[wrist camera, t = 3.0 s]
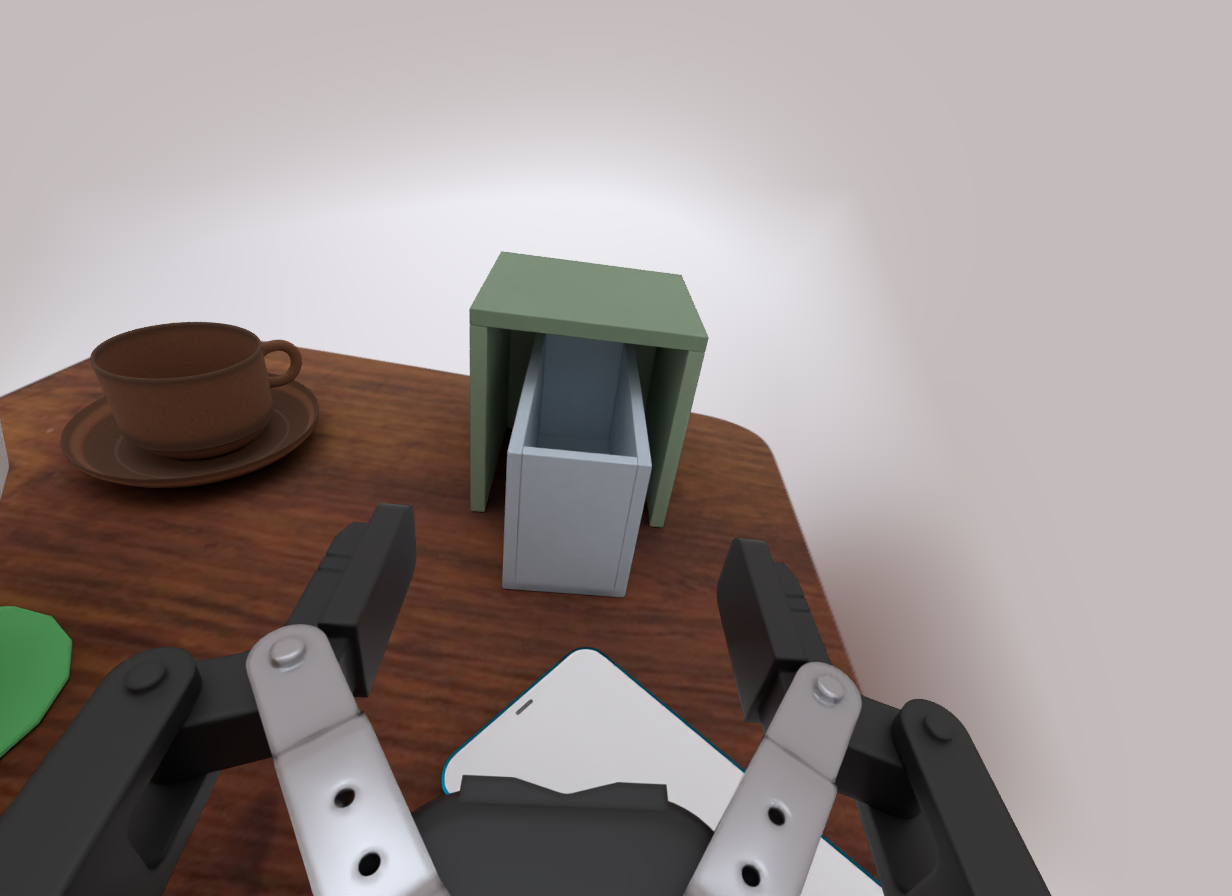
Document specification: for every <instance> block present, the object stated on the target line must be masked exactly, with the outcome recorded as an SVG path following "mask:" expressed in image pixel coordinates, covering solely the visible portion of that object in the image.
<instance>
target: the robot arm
mask: <svg viewBox="0 0 1232 896" xmlns="http://www.w3.org/2000/svg"><path fill="white" fill-rule="evenodd" d="M415 562H416V539H415V522H414V509H413V507H412V506H408V505H398V504H387V503H379V504H378V506H377V507H376V509H375V511H374V513H373V515H372V517H371V519H370V521H369V523H358V522H353V523H352V524H350V525H349V526H348V527H347V528H345V529H344V530H343V531H342V532H340V533H339V534H338V535H337V536H335V538H334V540H333V542H332V543H331V545H330V547H329V549H328V550H327V552H326V556H325V557H323V559H322V561H321V563H320V564H319V566H318V570H317V571H315V573H314V575H313V577H312V578H311V580H310V582H309V584H308V585H307V587H306V589H305V591H304V592H303V594H302V596H301V598H300V599H299V601H298V603H297V605H296V606H295V608H294V610H293V612H292V613H291V615H290V617H289V619H288V620H287V622H286V624H285V625H284V627H282V628H279V629H277V630H275V631H273V632H271V633H269V634H267V635H266V636H264V637H263V638H262V639H260V640H259V641H258V642H257V643H256V644H255V645H254V647H253V648H252V649H251V650H249V651H246V652H243V653H239V654H234V655H229V656H224V657H219V658H214V659H208V660H203V661H198V662H195V660H194V658H193V657H192V655H191V654H190V653H189V652H188V651H186V650H184V649H181V648H177V647H160V648H154V649H150V650H147V651H144V652H141V653H138V654H136V655H134V656H132V657H130V658H128V659H127V660H125V661H123V662H122V663H120V664H119V665H118V666H116V667H115V668H114V669H113V670H112V671H111V672H110V673H108V675H107V676H106V677H105V678H104V679H103V681H102V682H101V683H100V685H99V686H98V687H97V689H96V690H95V691H94V693H93V694H92V695H91V697H90V698H89V699H88V701H87V702H86V703H85V705H84V706H83V707H82V709H81V710H80V712H79V713H78V714H77V716H76V717H75V718H74V720H73V721H72V722H71V724H70V725H69V726H68V728H67V729H66V730H65V732H64V733H63V734H62V736H61V737H60V738H59V740H58V741H57V742H56V744H55V745H54V746H53V748H52V749H51V750H50V752H49V753H48V755H47V756H46V757H45V759H44V760H43V761H42V763H41V764H40V765H39V767H38V768H37V769H36V771H35V772H34V773H33V775H32V776H31V777H30V779H29V780H28V781H27V783H26V784H25V785H24V787H23V788H22V789H21V791H20V792H19V793H18V795H17V796H16V798H15V799H14V800H13V802H12V803H11V804H10V806H9V807H8V808H7V810H6V811H5V812H4V814H3V815H2V816H1V818H0V896H161V895H162V893H163V891H164V889H165V887H166V885H167V883H168V881H169V879H170V877H171V875H172V872H173V870H174V868H175V866H176V864H177V862H178V860H179V858H180V856H181V854H182V852H183V849H184V847H185V845H186V843H187V841H188V839H189V837H190V835H191V833H192V831H193V829H194V827H195V824H196V822H197V820H198V818H199V816H200V814H201V812H202V810H203V808H204V806H205V804H206V801H207V799H208V797H209V795H210V793H211V791H212V789H213V787H214V785H215V783H216V781H217V778H218V776H219V774H220V772H221V770H223V769H227V768H231V767H235V766H239V765H243V764H247V763H251V762H255V761H258V760H262V759H266V758H270V757H272V758H273V762H274V766H275V769H276V772H277V776H278V779H279V782H280V786H281V789H282V792H283V796H284V799H285V802H286V806H287V809H288V812H289V816H290V819H291V822H292V825H293V829H294V832H295V835H296V839H297V842H298V845H299V849H300V852H301V855H302V859H303V862H304V865H305V869H306V872H307V875H308V878H309V882H310V885H311V888H312V892H313V895H314V896H801V893H802V890H803V887H804V884H805V881H806V878H807V876H808V873H809V870H810V867H811V864H812V861H813V859H814V856H815V853H816V850H817V847H818V844H819V842H820V839H821V836H822V833H823V830H824V827H825V825H826V822H827V819H828V816H829V813H830V810H831V808H832V805H833V802H834V799H835V796H836V793H837V792H838V793H841V794H843V795H846V796H848V797H851V798H853V799H855V802H856V805H857V809H858V812H859V815H860V818H861V822H862V825H863V828H864V832H865V835H866V838H867V841H868V845H869V848H870V851H871V855H872V858H873V861H874V864H875V868H876V871H877V874H878V878H879V881H880V884H881V887H882V891H883V894H884V896H1051V894H1050V892H1049V890H1048V888H1047V886H1046V884H1045V882H1044V880H1043V878H1042V876H1041V874H1040V872H1039V871H1038V868H1037V867H1036V865H1035V863H1034V861H1033V859H1032V857H1031V855H1030V853H1029V851H1028V849H1027V847H1026V845H1025V843H1024V841H1023V839H1022V837H1021V836H1020V833H1019V831H1018V829H1017V827H1016V826H1015V823H1014V822H1013V820H1012V818H1011V816H1010V814H1009V812H1008V810H1007V808H1006V806H1005V804H1004V802H1003V800H1002V798H1001V796H1000V794H999V792H998V790H997V788H996V786H995V784H994V782H993V781H992V778H991V777H990V775H989V773H988V771H987V769H986V767H985V765H984V763H983V761H982V759H981V757H980V755H979V753H978V751H977V749H976V747H975V745H974V743H973V741H972V739H971V737H970V735H969V734H968V732H967V730H966V729H965V727H964V726H963V724H962V723H961V722H960V721H959V720H958V719H957V718H956V717H955V716H954V715H953V714H952V713H951V712H949V711H948V710H947V709H945V708H944V707H942V706H940V705H938V704H936V703H934V702H931V701H928V700H924V699H914V700H910V701H908V702H907V703H906V704H905V705H904V706H903V708H902V709H901V710H900V709H897V708H894V707H892V706H889V705H886V704H883V703H881V702H878V701H875V700H873V699H870V698H868V697H865V696H863V695H861V694H859V691H858V689H857V687H856V686H855V684H854V683H853V682H852V680H851V679H850V678H849V677H848V676H847V675H845V674H844V673H843V672H842V671H840V670H839V669H837V668H835V667H833V666H832V664H831V662H830V659H829V657H828V654H827V652H826V649H825V647H824V644H823V642H822V639H821V637H820V634H819V632H818V629H817V627H816V624H815V622H814V619H813V617H812V614H811V613H809V610H810V609H809V607H808V604H807V602H806V599H804V594H803V592H802V589H801V587H800V584H799V582H798V579H797V578H796V577H795V575H794V574H793V573H792V572H791V571H790V570H789V569H788V567H787V566H786V565H785V564H784V563H780V562H773V559H772V557H771V554H770V551H769V548H768V546H767V544H766V542H765V541H761V540H751V539H741V538H735V539H734V540H733V541H732V544H731V546H730V549H729V552H728V555H727V558H726V560H725V563H724V566H723V569H722V572H721V575H720V577H719V581H718V586H717V602H718V607H719V611H720V616H721V620H722V625H723V629H724V633H725V638H726V642H727V646H728V651H729V655H730V659H731V664H732V668H733V672H734V677H735V681H736V686H737V690H738V694H739V699H740V703H741V707H742V712H743V716H744V720H745V722H754V723H761V725H762V728H763V732H764V736H763V738H762V739H761V741H760V743H759V745H758V747H757V749H756V751H755V753H754V755H753V757H752V759H751V761H750V763H749V765H748V767H747V768H746V770H745V772H744V774H743V776H742V778H741V780H740V782H739V784H738V786H737V788H736V790H735V792H734V794H733V796H732V798H731V800H730V801H729V803H728V805H727V807H726V809H725V811H724V813H723V815H722V817H721V819H720V821H719V823H718V824H717V826H716V828H715V830H714V831H713V830H712V829H711V828H710V827H709V826H708V825H707V824H706V823H705V822H704V821H702V820H701V819H700V818H699V817H698V816H696V815H695V814H693V813H692V812H690V811H689V810H687V809H685V808H683V807H681V806H679V805H677V804H675V803H673V802H670V801H668V794H667V784H648V783H627V782H616V783H612V784H608V785H604V786H599V787H595V788H591V789H587V790H583V791H578V792H574V793H569V794H564V793H560V792H557V791H554V790H551V789H548V788H545V787H542V786H539V785H536V784H533V783H530V782H527V781H524V780H521V779H518V778H515V777H500V776H479V775H463V776H462V781H461V786H460V791H457V792H453V793H449V794H446V795H443V796H441V797H438V798H436V799H434V800H432V801H430V802H428V803H426V804H424V805H422V806H421V807H419V808H418V809H416V810H415V811H413V812H412V813H410V811H409V809H408V807H407V804H406V802H405V800H404V798H403V795H402V793H401V791H400V789H399V786H398V784H397V782H396V780H395V778H394V775H393V773H392V771H391V769H390V766H389V764H388V762H387V760H386V757H385V755H384V753H383V751H382V748H381V746H380V744H379V742H378V740H377V737H376V735H375V733H374V731H373V728H372V726H371V724H370V722H369V720H368V718H367V716H366V714H365V713H364V712H363V711H362V712H360V710H359V709H358V706H357V704H356V702H355V700H354V697H368V695H369V692H370V690H371V687H372V684H373V682H374V679H375V676H376V673H377V671H378V668H379V665H380V663H381V660H382V657H383V655H384V652H385V649H386V646H387V644H388V641H389V638H390V636H391V633H392V630H393V628H394V625H395V622H396V619H397V617H398V614H399V611H400V609H401V606H402V603H403V601H404V598H405V595H406V593H407V590H408V587H409V584H410V582H411V579H412V576H413V573H414V568H415Z"/></svg>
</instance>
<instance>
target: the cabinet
mask: <svg viewBox="0 0 1232 896" xmlns="http://www.w3.org/2000/svg"><path fill="white" fill-rule="evenodd" d="M536 333H544V334H553V335H561V336H570V337H578V338H587V339H595V340H604V341H612V342H621V343H629V344H635V351H636V358H637V365H638V372H639V379H640V386H641V393H642V400H643V407H644V414H645V421H646V428H647V435H648V442H649V449H650V456H651V463H652V469H651V474H650V479H649V483H648V488H647V493H646V499H647V508H648V516H649V525H650V526H653V527H663V525H664V521H665V516H666V512H667V508H668V504H669V500H670V496H671V491H672V487H673V483H674V479H675V475H676V471H677V467H678V462H679V458H680V454H681V450H682V446H683V442H684V437H685V433H686V429H687V425H688V421H689V417H690V412H691V408H692V404H693V400H694V396H695V391H696V387H697V383H698V379H699V375H700V371H701V367H702V362H703V358H704V354H705V353H704V352H705V350H706V346H707V342H708V335H707V333H706V331H705V328H704V326H703V324H702V321H701V319H700V317H699V314H698V312H697V310H696V308H695V305H694V303H693V301H692V298H691V296H690V294H689V291H688V289H687V287H686V285H685V282H684V280H683V278H682V275H677V274H669V273H662V272H654V271H646V270H638V269H631V268H623V267H616V266H608V265H601V264H592V263H586V262H578V261H570V260H563V259H555V258H547V257H540V256H532V255H524V254H517V253H510V252H501V253H500V255H499V257H498V259H497V260H496V262H495V264H494V266H493V268H492V269H491V271H490V273H489V275H488V277H487V279H486V281H485V282H484V284H483V286H482V287H481V289H480V291H479V293H478V295H477V296H476V298H475V300H474V302H473V304H472V306H471V307H470V490H471V511H479V512H485V509H486V505H487V501H488V498H489V494H490V490H491V486H492V482H493V478H494V474H495V471H496V467H497V463H498V459H499V455H500V451H501V447H502V444H503V440H504V436H505V432H506V428H507V427H508V428H513V426H514V422H515V418H516V414H517V410H518V406H519V402H520V397H521V393H522V389H523V385H524V381H525V377H526V372H527V368H528V364H529V360H530V356H531V352H532V347H533V343H534V339H535V335H536Z"/></svg>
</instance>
